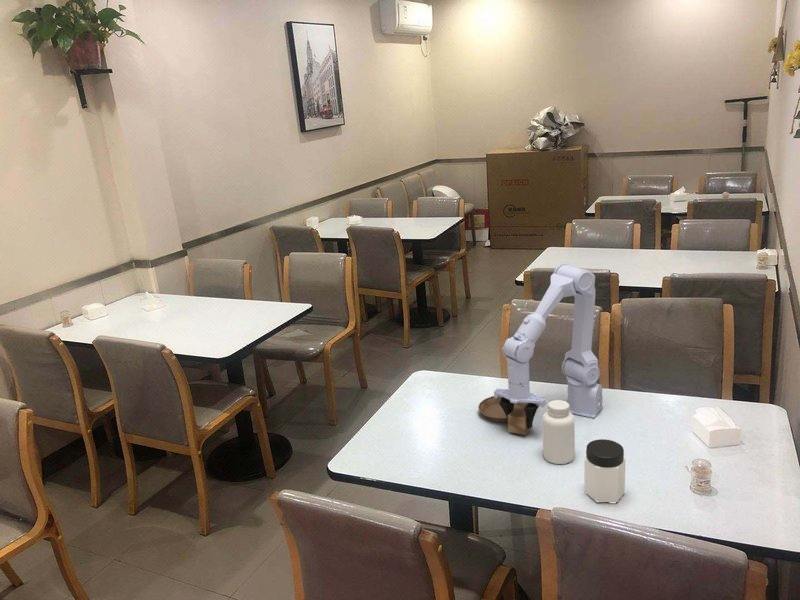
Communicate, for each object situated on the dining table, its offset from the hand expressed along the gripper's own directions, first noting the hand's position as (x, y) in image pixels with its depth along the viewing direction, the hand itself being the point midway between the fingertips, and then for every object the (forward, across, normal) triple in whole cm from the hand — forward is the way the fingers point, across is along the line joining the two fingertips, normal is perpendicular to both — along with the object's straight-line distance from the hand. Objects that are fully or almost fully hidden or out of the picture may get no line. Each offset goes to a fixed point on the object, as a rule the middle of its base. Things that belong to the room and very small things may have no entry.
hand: (520, 424), depth 176 cm
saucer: (+3, -9, +8) cm, 12 cm away
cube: (+2, 0, 0) cm, 2 cm away
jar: (+2, +29, -17) cm, 34 cm away
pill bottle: (+3, +14, -7) cm, 16 cm away
